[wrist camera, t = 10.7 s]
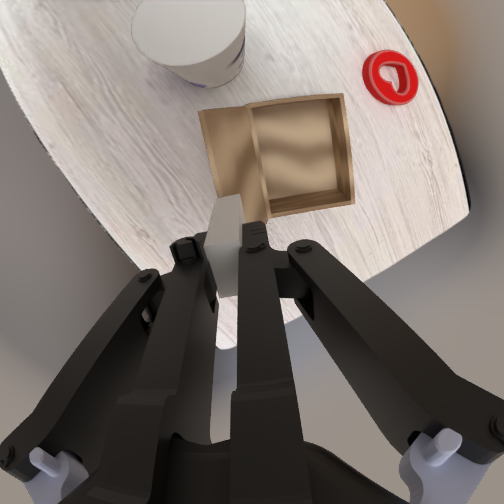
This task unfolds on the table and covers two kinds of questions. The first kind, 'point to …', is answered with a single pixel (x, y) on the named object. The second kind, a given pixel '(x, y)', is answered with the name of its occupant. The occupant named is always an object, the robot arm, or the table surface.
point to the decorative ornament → (384, 88)
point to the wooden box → (303, 153)
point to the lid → (234, 158)
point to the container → (193, 38)
